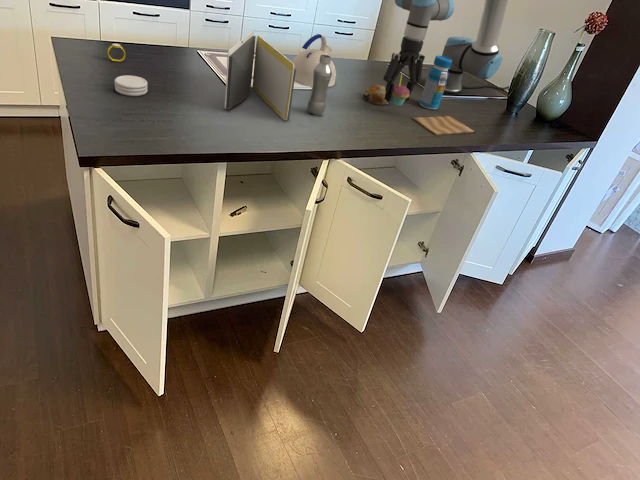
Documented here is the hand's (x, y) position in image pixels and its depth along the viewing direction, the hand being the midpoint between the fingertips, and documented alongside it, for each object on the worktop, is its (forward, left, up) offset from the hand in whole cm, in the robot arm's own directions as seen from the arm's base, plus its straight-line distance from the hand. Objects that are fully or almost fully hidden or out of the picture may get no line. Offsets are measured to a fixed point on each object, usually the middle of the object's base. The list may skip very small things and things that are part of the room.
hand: (396, 99), depth 182 cm
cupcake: (0, 0, -2) cm, 2 cm away
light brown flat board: (-16, +13, -6) cm, 21 cm away
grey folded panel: (+55, -14, -6) cm, 57 cm away
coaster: (+91, -25, -6) cm, 95 cm away
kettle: (+16, -37, -6) cm, 41 cm away
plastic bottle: (+33, -3, -6) cm, 34 cm away
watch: (+90, -54, -6) cm, 105 cm away
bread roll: (-1, -13, -6) cm, 14 cm away
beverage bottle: (-24, -6, -6) cm, 25 cm away
